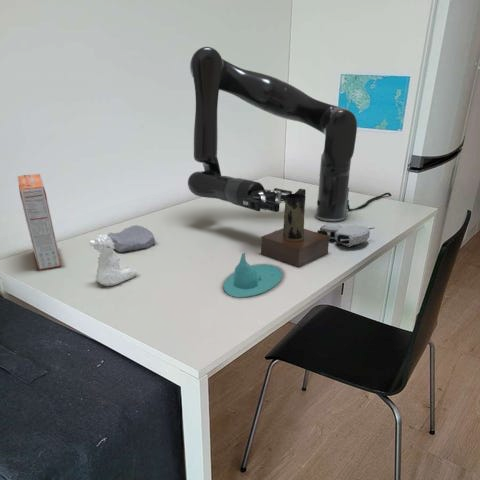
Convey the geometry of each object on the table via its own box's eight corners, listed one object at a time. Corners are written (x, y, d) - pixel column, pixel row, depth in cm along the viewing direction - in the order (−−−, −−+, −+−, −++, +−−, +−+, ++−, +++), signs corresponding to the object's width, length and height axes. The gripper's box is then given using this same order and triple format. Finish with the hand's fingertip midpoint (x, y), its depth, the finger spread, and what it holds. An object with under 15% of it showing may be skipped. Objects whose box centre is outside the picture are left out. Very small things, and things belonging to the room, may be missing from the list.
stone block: (159, 249, 139) (139, 234, 144) (159, 235, 136) (138, 220, 141) (123, 262, 132) (104, 246, 137) (123, 247, 129) (102, 231, 134)
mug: (298, 242, 125) (301, 196, 119) (279, 239, 127) (281, 193, 121) (310, 233, 131) (313, 189, 125) (291, 230, 133) (293, 186, 127)
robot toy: (308, 243, 140) (354, 252, 131) (308, 228, 138) (355, 236, 129) (331, 232, 148) (376, 240, 139) (331, 218, 146) (377, 225, 137)
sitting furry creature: (138, 275, 120) (132, 228, 114) (123, 290, 112) (116, 241, 106) (103, 271, 121) (95, 225, 115) (86, 286, 114) (77, 238, 108)
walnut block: (290, 241, 140) (291, 225, 137) (327, 253, 132) (329, 235, 129) (260, 254, 131) (260, 236, 129) (298, 267, 124) (299, 248, 121)
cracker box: (34, 252, 133) (16, 175, 123) (57, 248, 135) (41, 172, 125) (37, 271, 122) (17, 188, 112) (62, 267, 124) (45, 185, 114)
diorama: (293, 270, 122) (294, 238, 118) (256, 302, 107) (257, 266, 102) (250, 261, 127) (250, 230, 123) (210, 291, 112) (209, 256, 108)
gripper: (226, 184, 130) (271, 195, 120) (261, 175, 139) (306, 185, 129) (226, 211, 134) (271, 224, 124) (260, 201, 143) (304, 212, 133)
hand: (289, 204), depth 127 cm, fingers open, 8 cm apart
